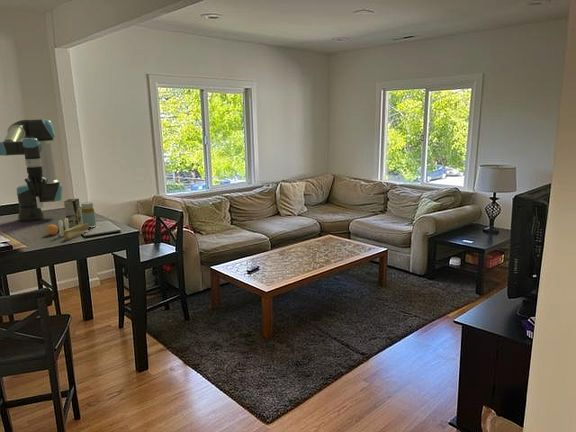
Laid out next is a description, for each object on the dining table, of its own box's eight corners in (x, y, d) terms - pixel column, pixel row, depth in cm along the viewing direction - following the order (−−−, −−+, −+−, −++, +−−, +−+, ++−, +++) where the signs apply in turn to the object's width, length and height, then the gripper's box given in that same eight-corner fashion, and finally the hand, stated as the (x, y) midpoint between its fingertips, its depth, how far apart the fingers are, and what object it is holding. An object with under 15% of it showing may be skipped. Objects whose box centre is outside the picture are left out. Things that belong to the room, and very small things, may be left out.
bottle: (91, 228, 261) (88, 204, 258) (81, 228, 263) (78, 204, 259) (98, 225, 268) (95, 202, 265) (88, 225, 269) (85, 201, 266)
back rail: (64, 239, 239) (63, 230, 238) (84, 231, 256) (83, 222, 255) (69, 239, 239) (68, 231, 237) (89, 231, 256) (88, 223, 255)
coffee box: (78, 226, 267) (74, 200, 264) (66, 227, 266) (63, 201, 263) (82, 223, 276) (79, 198, 273) (71, 223, 275) (68, 198, 272)
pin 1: (59, 236, 246) (57, 221, 243) (61, 235, 247) (59, 220, 245) (62, 236, 245) (60, 221, 243) (65, 235, 247) (62, 220, 245)
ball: (52, 224, 246) (52, 235, 246) (60, 224, 252) (60, 234, 252) (43, 224, 247) (43, 235, 247) (51, 224, 253) (51, 234, 253)
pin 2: (65, 234, 250) (63, 219, 248) (67, 233, 252) (65, 218, 250) (68, 234, 250) (66, 219, 248) (70, 233, 252) (68, 218, 250)
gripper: (18, 167, 239) (25, 208, 245) (39, 167, 237) (46, 209, 243) (28, 165, 247) (34, 206, 252) (49, 165, 244) (55, 206, 250)
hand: (40, 207), depth 247 cm, fingers closed
